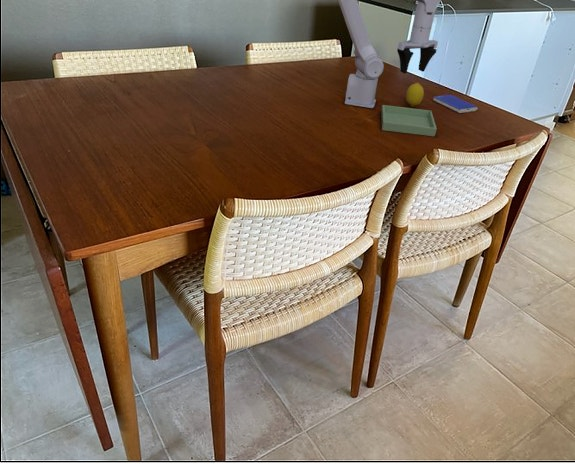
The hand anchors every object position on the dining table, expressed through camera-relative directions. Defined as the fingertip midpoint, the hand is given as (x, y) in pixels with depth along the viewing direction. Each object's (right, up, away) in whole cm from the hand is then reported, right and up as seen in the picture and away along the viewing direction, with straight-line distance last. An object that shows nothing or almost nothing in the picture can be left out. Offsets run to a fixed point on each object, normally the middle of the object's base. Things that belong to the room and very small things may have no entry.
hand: (412, 71), depth 152 cm
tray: (-4, -19, -10) cm, 22 cm away
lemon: (+1, -11, +3) cm, 11 cm away
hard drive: (+16, -9, +7) cm, 20 cm away
